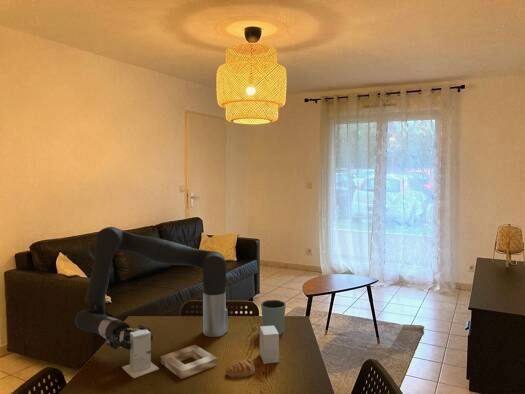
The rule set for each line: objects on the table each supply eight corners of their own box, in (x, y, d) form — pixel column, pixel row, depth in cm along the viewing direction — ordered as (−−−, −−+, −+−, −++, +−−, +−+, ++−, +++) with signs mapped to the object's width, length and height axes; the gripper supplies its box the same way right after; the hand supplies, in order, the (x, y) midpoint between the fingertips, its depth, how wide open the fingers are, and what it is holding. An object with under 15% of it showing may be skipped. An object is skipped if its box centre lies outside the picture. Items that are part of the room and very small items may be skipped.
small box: (279, 363, 143) (279, 333, 142) (263, 364, 142) (263, 335, 141) (274, 352, 151) (274, 325, 150) (259, 353, 150) (259, 325, 149)
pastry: (230, 381, 131) (230, 369, 130) (222, 372, 137) (222, 361, 136) (256, 374, 135) (256, 363, 135) (248, 366, 141) (248, 355, 141)
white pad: (146, 359, 144) (146, 358, 144) (158, 369, 138) (158, 368, 138) (122, 367, 138) (122, 366, 138) (133, 378, 132) (133, 377, 132)
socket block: (195, 351, 151) (195, 344, 151) (217, 365, 141) (217, 358, 141) (160, 363, 142) (160, 356, 142) (181, 379, 132) (181, 371, 131)
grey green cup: (289, 330, 171) (289, 302, 170) (277, 339, 162) (277, 309, 161) (269, 325, 176) (269, 298, 175) (256, 333, 168) (256, 304, 167)
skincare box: (133, 372, 135) (132, 336, 134) (129, 366, 138) (128, 332, 137) (151, 367, 138) (151, 332, 137) (147, 362, 142) (146, 328, 141)
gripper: (95, 325, 141) (122, 338, 131) (131, 314, 152) (158, 325, 142) (95, 346, 141) (122, 361, 132) (131, 333, 153) (158, 345, 143)
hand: (141, 342), depth 137 cm, fingers open, 8 cm apart
